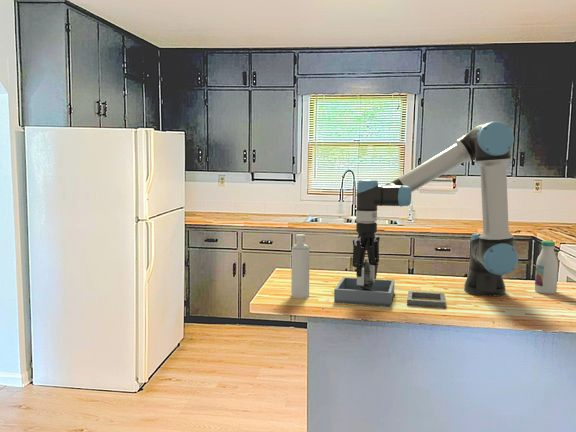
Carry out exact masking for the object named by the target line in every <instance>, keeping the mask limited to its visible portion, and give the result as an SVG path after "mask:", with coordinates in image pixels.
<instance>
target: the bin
mask: <svg viewBox="0 0 576 432" xmlns="http://www.w3.org/2000/svg"><path fill="white" fill-rule="evenodd" d="M359 289H362V288H361V287H360V286H359V285H357V277H345V276H344V277H343V276H342V278H341V279H340V280H339V282H338V284H337V285H336V286H335V288H334V290H333V291H334V295H333V297H334V299H333V301H334V302H333V303H334V304H345V305H347V304H348V305H359V306H371V307H372V306H374V307H388V308H392V307H391V306H392V303H393V299H394V296H395V279H377V278H376V279H374V283H373V285H372V287H371V288H369V289H371V290H372V291H364V290H359Z"/></svg>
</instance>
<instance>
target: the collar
mask: <svg viewBox="0 0 576 432" xmlns="http://www.w3.org/2000/svg"><path fill="white" fill-rule="evenodd" d="M445 295H446V294H445V293H444V292H431V291H430V292H427V291H414V290H408V291H407V298H406V299H407V300H406V306H409V307H410V306H411V307H423V306H424V307H425V308H427V307H428V308H437V307H439V308H442V309H446V297H445ZM416 298H417V299H416ZM429 299H431V300H429ZM432 299H433V300H432ZM439 308H438V309H439Z"/></svg>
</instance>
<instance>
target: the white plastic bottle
mask: <svg viewBox="0 0 576 432" xmlns="http://www.w3.org/2000/svg"><path fill="white" fill-rule="evenodd" d="M295 241H296V242H295V244H293V245H292V246H291V297H292V298H295V299H307V298H309V297H310V246H309V244H306V243H305V241H306V234H304V233H303V234H302V233H297V234H295Z"/></svg>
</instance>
